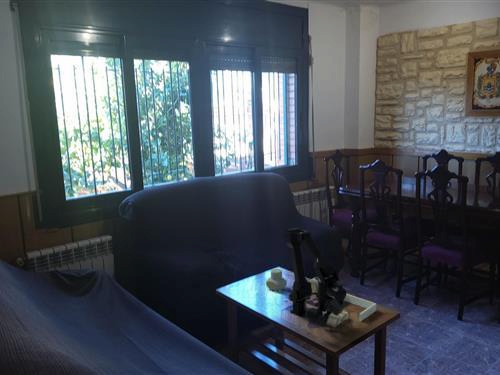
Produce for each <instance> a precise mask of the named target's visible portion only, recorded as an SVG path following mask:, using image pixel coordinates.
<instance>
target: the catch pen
mask: <svg viewBox="0 0 500 375" xmlns="http://www.w3.org/2000/svg"><path fill="white" fill-rule="evenodd" d="M344 300H345V302H347V303H350V304H353V305H356V306H360V307H362V308H364V310H362V311H361V312H359V314H358V315H359V316H358V322H362V321H364V320H365V319H366V318H368V317H369V316H371V315H373V313H375V312H376V311H377V303H376V302H372V301H369V300H366V299H363V298H360V297H357V296H354V295H351V294H348V293H347V294H346V297H345V299H344Z"/></svg>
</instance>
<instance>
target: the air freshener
mask: <svg viewBox="0 0 500 375" xmlns="http://www.w3.org/2000/svg"><path fill="white" fill-rule="evenodd" d="M265 285H266V287H267V288H268V289H269V290H271V291H273V292H278V291H279V292H280V291H282V290H284V289H285V288H286V287H287V286H288V281H287V280H286V279H285V278H284V277H283V270H282V269H280V268H273V269H271V270H270V277H268V278H267V279H266V281H265Z"/></svg>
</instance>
